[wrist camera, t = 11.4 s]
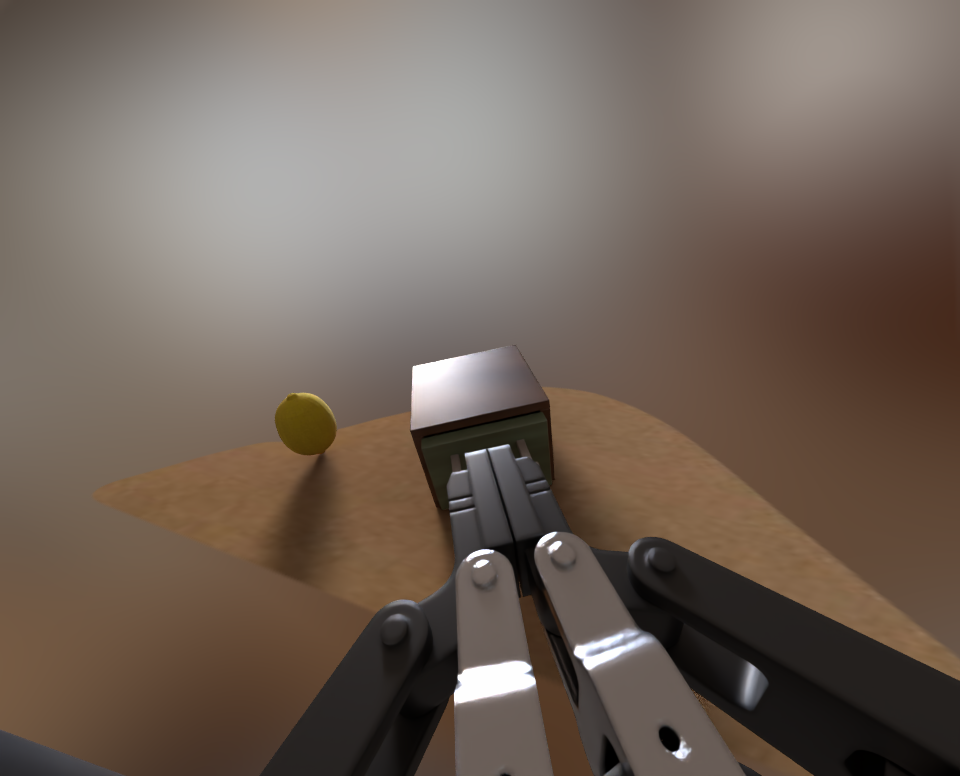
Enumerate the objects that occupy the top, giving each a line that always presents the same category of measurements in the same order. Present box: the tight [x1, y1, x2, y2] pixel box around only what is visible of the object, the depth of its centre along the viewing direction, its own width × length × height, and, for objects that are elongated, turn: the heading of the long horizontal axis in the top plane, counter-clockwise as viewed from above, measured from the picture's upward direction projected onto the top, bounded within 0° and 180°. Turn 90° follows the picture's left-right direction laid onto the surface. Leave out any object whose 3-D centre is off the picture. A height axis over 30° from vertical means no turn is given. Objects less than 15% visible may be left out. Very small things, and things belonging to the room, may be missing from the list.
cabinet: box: [410, 345, 555, 507], centre depth 32 cm, size 11×11×9 cm
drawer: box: [421, 412, 552, 510], centre depth 29 cm, size 14×9×7 cm
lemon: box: [275, 393, 337, 455], centre depth 37 cm, size 6×6×8 cm
